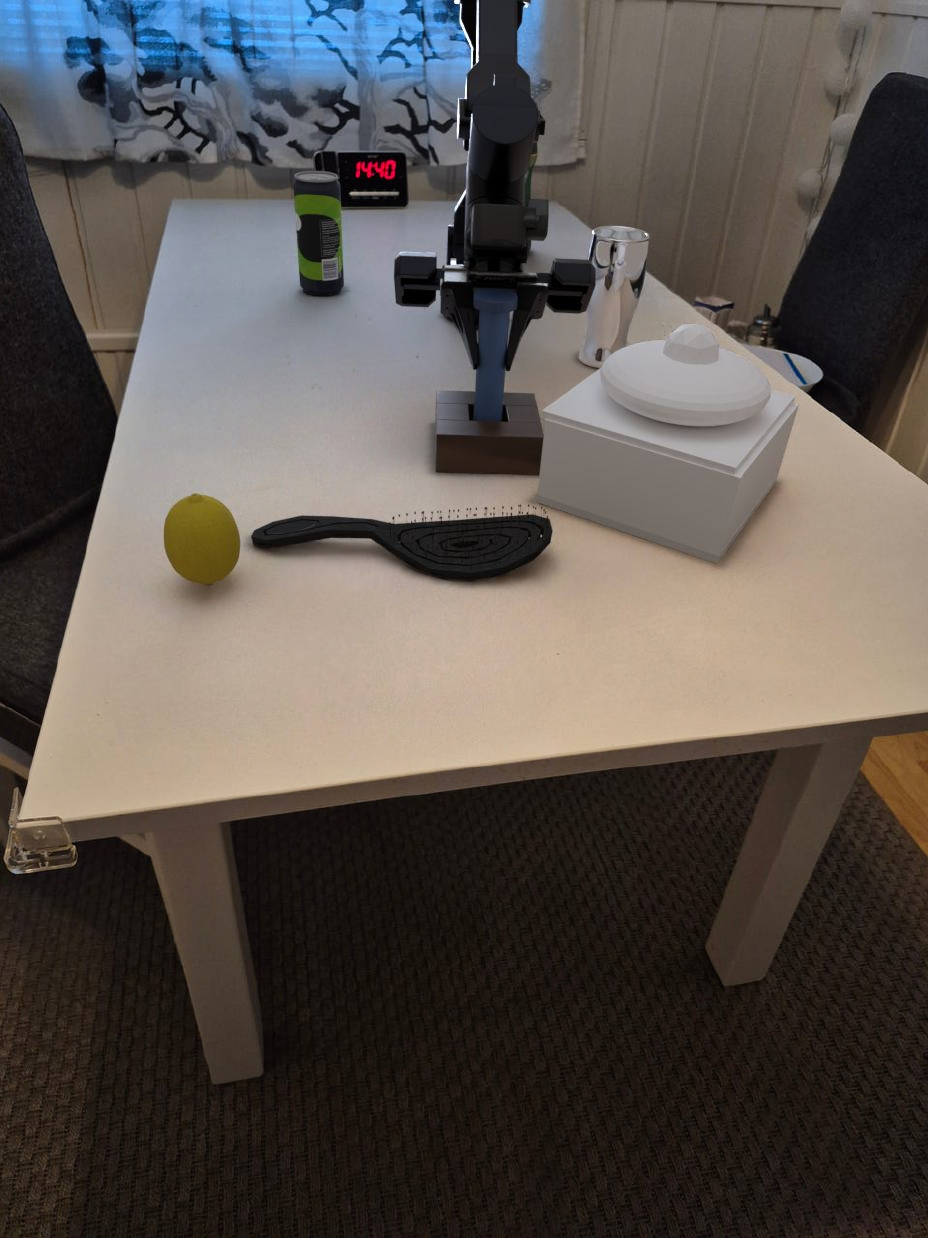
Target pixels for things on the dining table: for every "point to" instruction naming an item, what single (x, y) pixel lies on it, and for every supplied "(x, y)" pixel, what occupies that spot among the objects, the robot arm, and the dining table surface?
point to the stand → (487, 435)
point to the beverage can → (319, 232)
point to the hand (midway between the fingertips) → (491, 368)
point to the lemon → (201, 539)
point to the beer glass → (613, 290)
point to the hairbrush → (429, 540)
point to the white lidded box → (668, 443)
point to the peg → (492, 350)
